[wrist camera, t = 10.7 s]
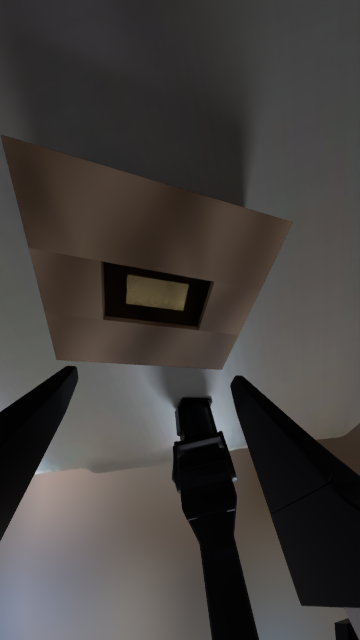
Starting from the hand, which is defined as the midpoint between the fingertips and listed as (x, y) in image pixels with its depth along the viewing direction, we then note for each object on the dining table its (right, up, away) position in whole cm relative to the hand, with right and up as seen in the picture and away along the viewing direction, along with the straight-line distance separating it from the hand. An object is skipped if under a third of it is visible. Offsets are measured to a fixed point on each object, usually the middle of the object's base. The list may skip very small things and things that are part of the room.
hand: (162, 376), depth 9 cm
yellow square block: (-1, +8, +9) cm, 12 cm away
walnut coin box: (-2, +8, +9) cm, 12 cm away
